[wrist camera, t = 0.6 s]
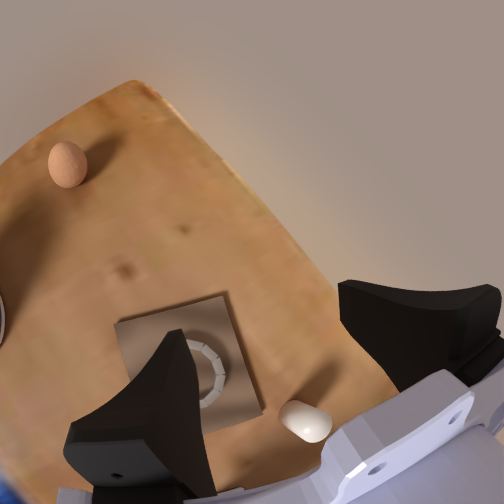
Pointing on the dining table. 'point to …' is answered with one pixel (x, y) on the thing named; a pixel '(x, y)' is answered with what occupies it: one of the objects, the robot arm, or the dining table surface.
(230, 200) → the dining table surface
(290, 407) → the white rounded capsule
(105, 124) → the dining table surface
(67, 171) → the egg
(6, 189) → the dining table surface
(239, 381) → the socket board
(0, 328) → the supplement tub
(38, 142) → the dining table surface
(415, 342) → the robot arm
